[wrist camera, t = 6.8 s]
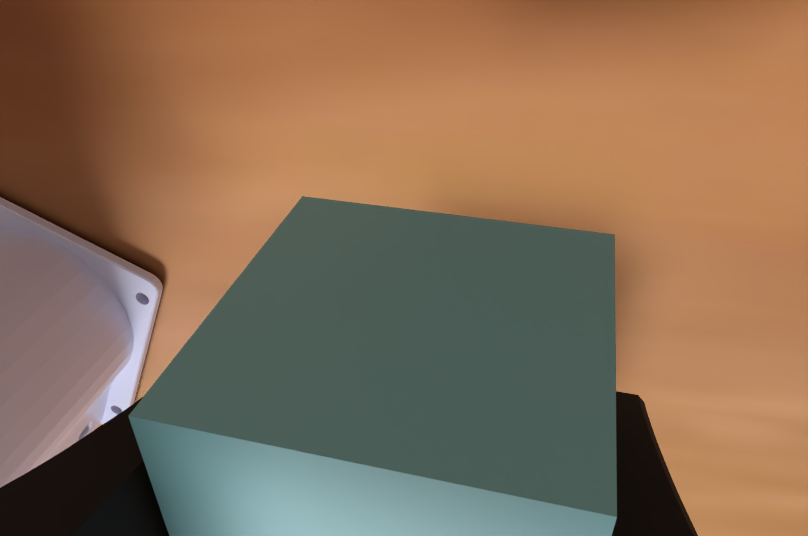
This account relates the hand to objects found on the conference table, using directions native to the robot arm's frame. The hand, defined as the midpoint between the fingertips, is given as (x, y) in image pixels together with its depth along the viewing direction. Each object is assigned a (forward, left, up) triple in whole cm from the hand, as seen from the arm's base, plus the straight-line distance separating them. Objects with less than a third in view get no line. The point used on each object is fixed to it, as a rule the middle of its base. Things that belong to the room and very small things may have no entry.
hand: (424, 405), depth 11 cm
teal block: (0, 0, -2) cm, 2 cm away
